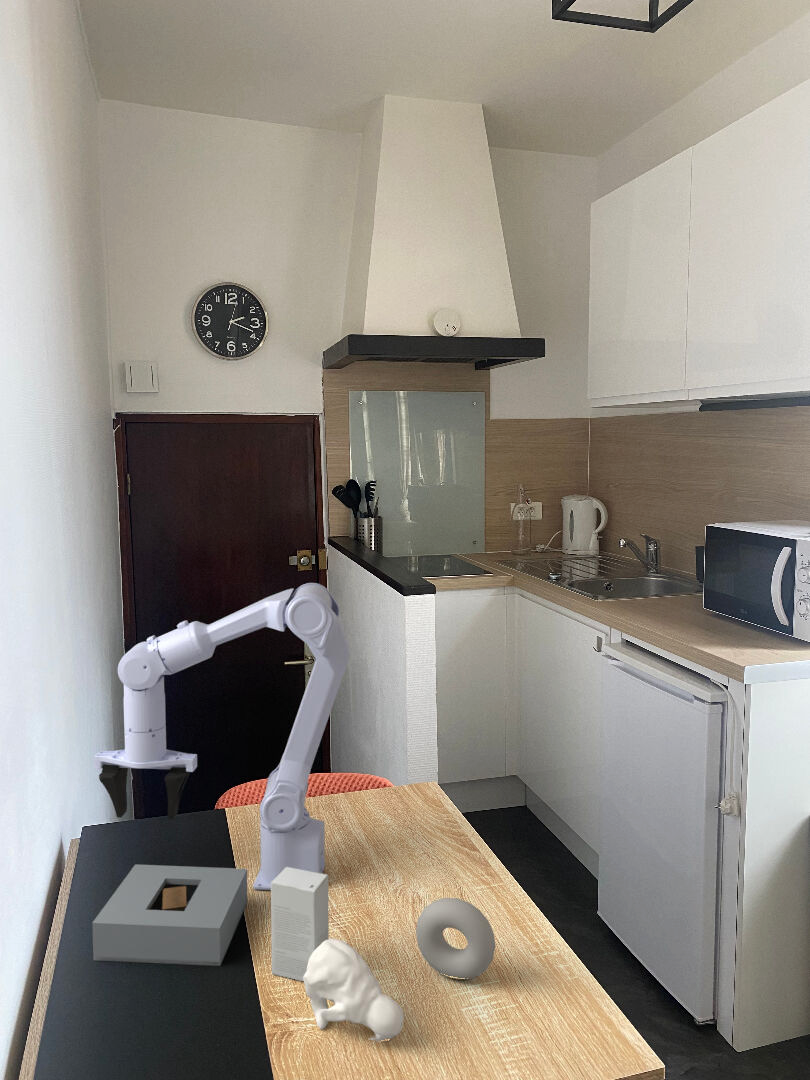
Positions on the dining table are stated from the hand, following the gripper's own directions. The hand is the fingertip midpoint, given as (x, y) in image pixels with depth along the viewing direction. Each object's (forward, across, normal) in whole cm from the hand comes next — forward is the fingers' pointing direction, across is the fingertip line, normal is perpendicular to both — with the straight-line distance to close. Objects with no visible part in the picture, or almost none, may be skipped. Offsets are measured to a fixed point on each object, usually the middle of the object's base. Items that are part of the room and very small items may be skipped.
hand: (147, 815), depth 118 cm
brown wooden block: (+9, -8, +12) cm, 17 cm away
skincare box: (+10, -26, +19) cm, 34 cm away
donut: (+10, -45, +19) cm, 50 cm away
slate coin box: (+10, -8, +12) cm, 17 cm away
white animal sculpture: (+10, -34, +28) cm, 45 cm away
